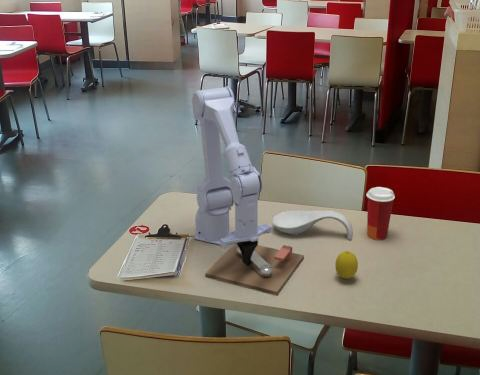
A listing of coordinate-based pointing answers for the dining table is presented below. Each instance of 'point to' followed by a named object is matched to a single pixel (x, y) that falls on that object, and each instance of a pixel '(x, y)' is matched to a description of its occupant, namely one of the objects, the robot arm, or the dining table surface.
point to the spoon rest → (307, 221)
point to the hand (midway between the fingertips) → (246, 263)
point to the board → (246, 276)
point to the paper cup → (379, 212)
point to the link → (258, 264)
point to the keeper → (284, 253)
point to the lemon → (346, 264)
